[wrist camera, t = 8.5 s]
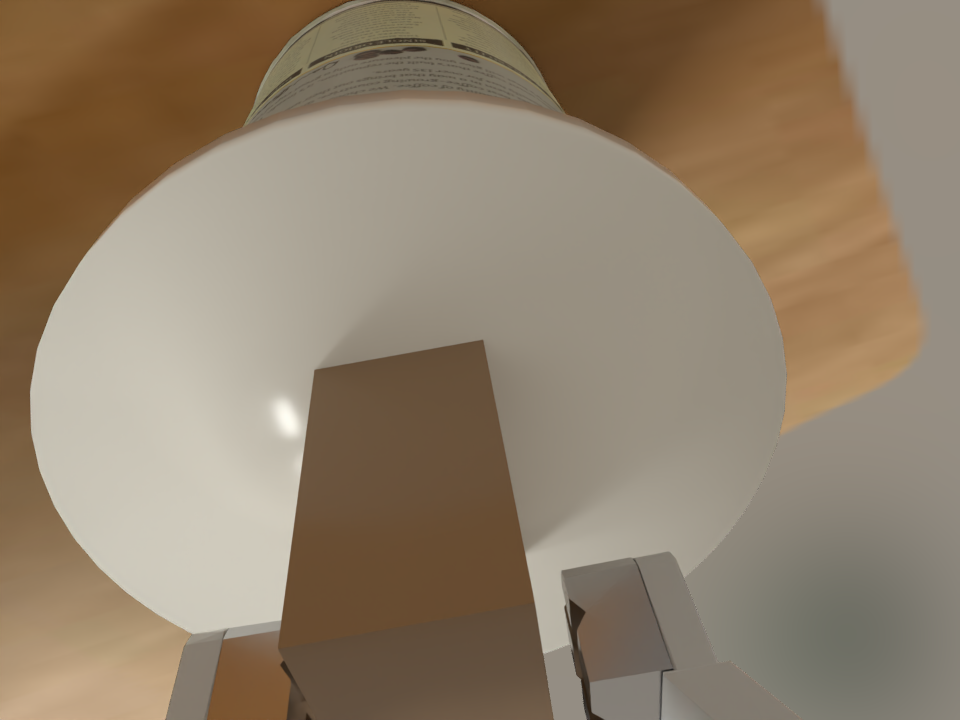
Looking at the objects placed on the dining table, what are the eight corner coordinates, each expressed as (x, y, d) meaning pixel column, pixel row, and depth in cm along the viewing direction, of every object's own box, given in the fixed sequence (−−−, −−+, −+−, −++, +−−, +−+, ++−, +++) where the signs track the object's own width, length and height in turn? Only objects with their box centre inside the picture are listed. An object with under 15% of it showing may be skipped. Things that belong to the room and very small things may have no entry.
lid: (739, 588, 16) (866, 857, 12) (213, 684, 16) (152, 987, 12) (808, 13, 9) (1180, 166, 5) (-129, 180, 9) (-584, 482, 5)
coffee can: (617, 180, 25) (806, 460, 14) (392, 339, 28) (396, 678, 17) (433, -98, 20) (495, -13, 9) (178, 134, 23) (-28, 428, 11)
